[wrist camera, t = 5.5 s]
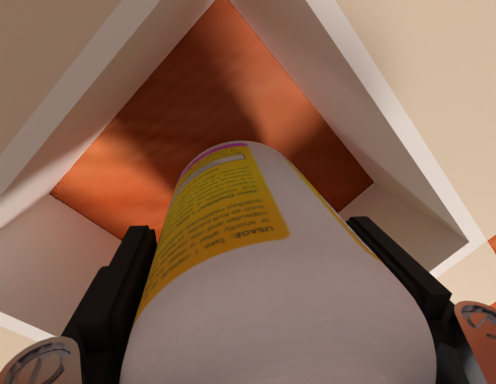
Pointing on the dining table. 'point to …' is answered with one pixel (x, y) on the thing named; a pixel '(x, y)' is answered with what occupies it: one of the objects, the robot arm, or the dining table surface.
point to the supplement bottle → (269, 287)
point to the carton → (308, 81)
